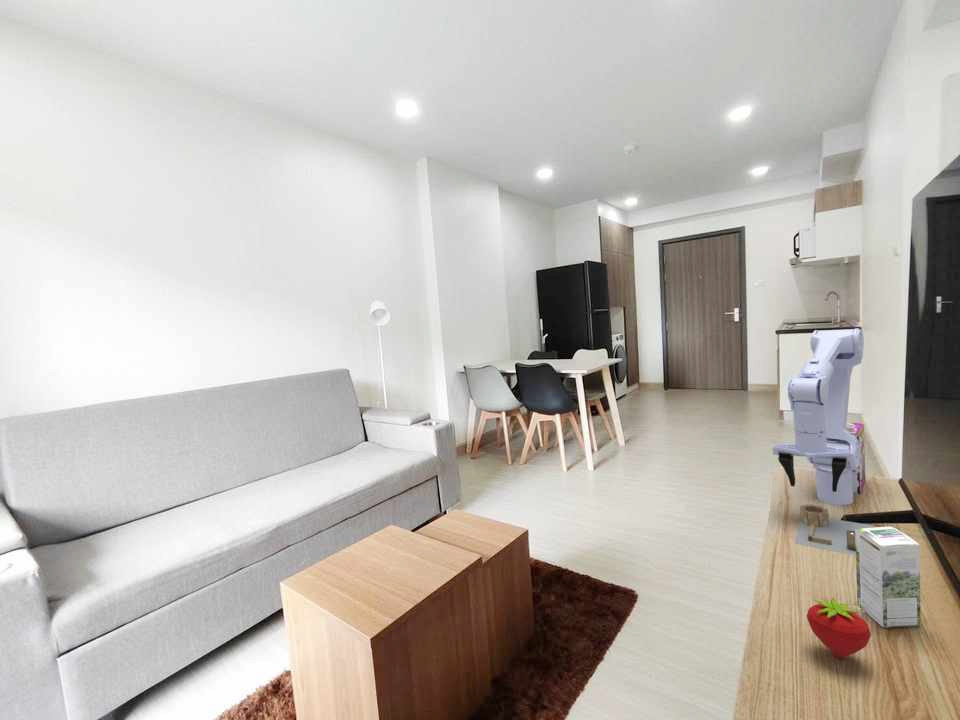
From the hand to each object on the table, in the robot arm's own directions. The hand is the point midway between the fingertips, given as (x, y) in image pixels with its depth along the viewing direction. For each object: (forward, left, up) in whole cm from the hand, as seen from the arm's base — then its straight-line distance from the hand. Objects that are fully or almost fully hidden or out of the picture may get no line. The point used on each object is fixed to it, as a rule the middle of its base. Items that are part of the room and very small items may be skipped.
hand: (813, 487), depth 102 cm
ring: (0, 0, -9) cm, 9 cm away
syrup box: (+29, +12, -10) cm, 32 cm away
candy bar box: (-27, +6, -10) cm, 29 cm away
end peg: (+9, +7, -9) cm, 14 cm away
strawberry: (+43, +6, -10) cm, 44 cm away
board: (+4, +4, -9) cm, 11 cm away
